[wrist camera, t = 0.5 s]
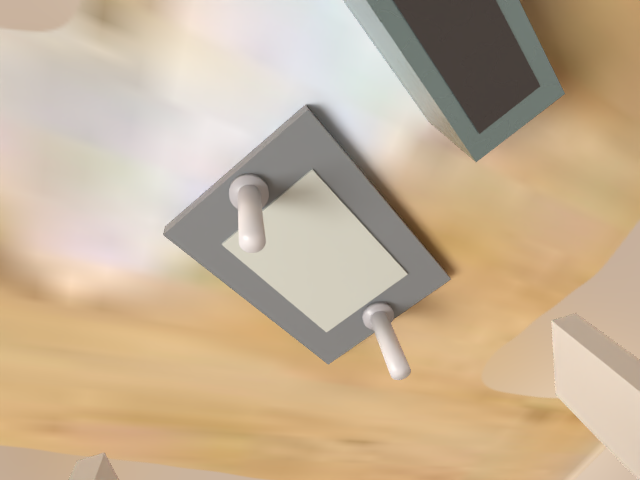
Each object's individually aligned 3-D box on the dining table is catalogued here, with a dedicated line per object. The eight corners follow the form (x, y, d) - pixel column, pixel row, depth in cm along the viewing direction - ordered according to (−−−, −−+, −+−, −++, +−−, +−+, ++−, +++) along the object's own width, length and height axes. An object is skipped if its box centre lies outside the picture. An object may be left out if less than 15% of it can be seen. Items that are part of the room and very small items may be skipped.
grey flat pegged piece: (305, 104, 32) (325, 146, 25) (445, 271, 42) (487, 333, 35) (165, 226, 35) (148, 293, 28) (326, 355, 45) (343, 427, 38)
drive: (406, -97, 27) (465, -114, 20) (497, 65, 33) (566, 94, 26) (327, -21, 29) (357, -13, 22) (428, 121, 34) (477, 163, 28)
